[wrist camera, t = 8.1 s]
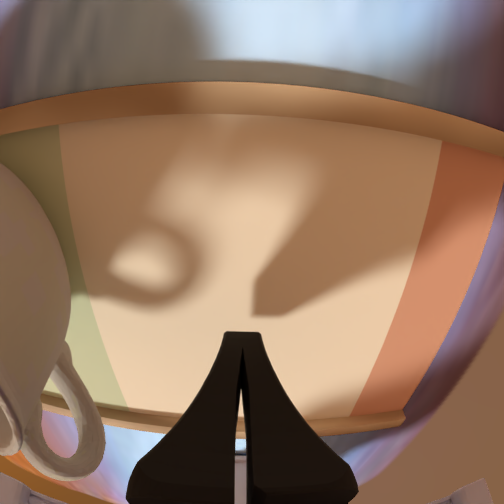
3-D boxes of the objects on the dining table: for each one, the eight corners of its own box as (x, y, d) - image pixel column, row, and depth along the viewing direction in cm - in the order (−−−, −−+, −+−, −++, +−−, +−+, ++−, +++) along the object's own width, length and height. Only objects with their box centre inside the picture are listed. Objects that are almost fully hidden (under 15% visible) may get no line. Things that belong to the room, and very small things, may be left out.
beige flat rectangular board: (396, 414, 19) (400, 426, 18) (-22, 377, 18) (-27, 385, 17) (510, 134, 10) (525, 140, 9) (-109, 151, 9) (-119, 156, 8)
